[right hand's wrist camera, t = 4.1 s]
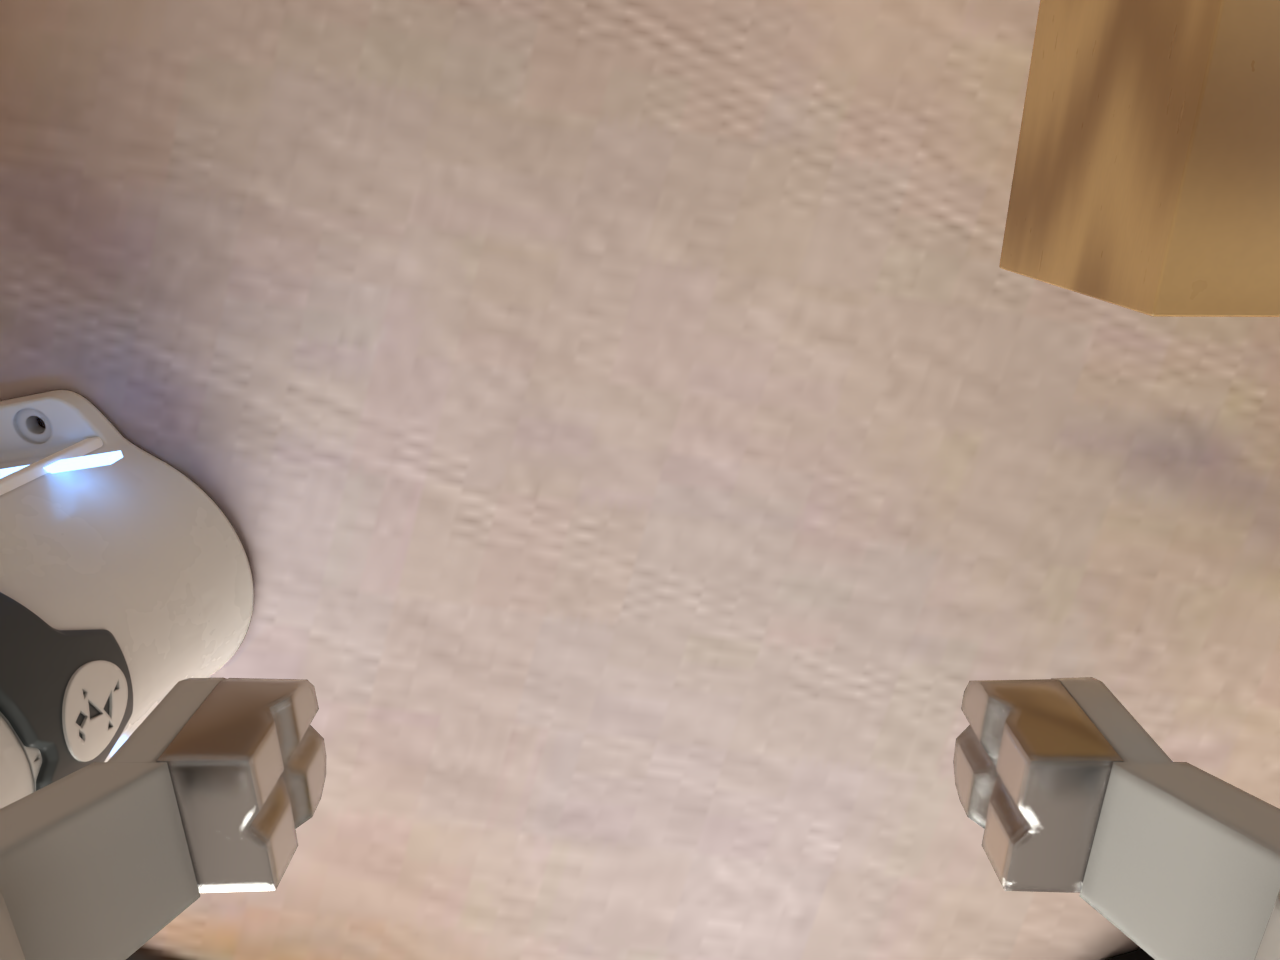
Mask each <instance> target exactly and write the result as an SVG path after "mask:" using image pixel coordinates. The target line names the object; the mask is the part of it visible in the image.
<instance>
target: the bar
mask: <svg viewBox="0 0 1280 960" xmlns="http://www.w3.org/2000/svg"><path fill="white" fill-rule="evenodd" d="M1000 268H1002V269H1005V270H1008V271H1011V272H1014V273H1018V274H1021V275H1024V276H1027V277H1030V278H1033V279H1036V280H1040V281H1043V282H1046V283H1049V284H1052V285H1055V286H1059V287H1062V288H1065V289H1068V290H1071V291H1074V292H1078V293H1081V294H1084V295H1087V296H1090V297H1093V298H1097V299H1100V300H1103V301H1106V302H1109V303H1112V304H1116V305H1119V306H1122V307H1125V308H1128V309H1131V310H1134V311H1138V312H1141V313H1144V314H1147V315H1150V316H1172V317H1280V0H1040V6H1039V13H1038V19H1037V26H1036V32H1035V39H1034V45H1033V52H1032V58H1031V65H1030V71H1029V78H1028V84H1027V91H1026V97H1025V104H1024V110H1023V117H1022V123H1021V130H1020V136H1019V143H1018V149H1017V156H1016V162H1015V169H1014V175H1013V182H1012V188H1011V195H1010V201H1009V208H1008V214H1007V221H1006V227H1005V234H1004V240H1003V247H1002V253H1001V259H1000Z"/></svg>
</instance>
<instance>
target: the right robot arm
mask: <svg viewBox="0 0 1280 960" xmlns="http://www.w3.org/2000/svg"><path fill="white" fill-rule="evenodd" d="M36 416H37V417H39V418H40V419H42V420H43V422H44V424H45V429H44V428H42V427H41V426H40V425H39V424H38V423H37V420H36ZM253 604H254V589H253V579H252V573H251V569H250V565H249V562H248V558H247V555H246V553H245V550H244V548H243V545H242V543H241V541H240V539H239V537H238V535H237V533H236V532H235V530H234V528H233V527H232V525H231V523H230V522H229V520H228V519H227V517H226V516H225V515H224V513H223V512H222V511H221V509H220V508H219V507H218V506H217V505H216V504H215V502H214V501H213V500H212V499H211V498H210V497H209V496H208V495H207V494H206V493H205V492H204V491H203V490H202V489H201V488H200V487H198V486H197V485H196V484H195V483H194V482H193V481H191V480H190V479H189V478H188V477H186V476H185V475H184V474H182V473H181V472H179V471H178V470H177V469H175V468H173V467H172V466H170V465H169V464H167V463H165V462H164V461H162V460H160V459H158V458H156V457H155V456H153V455H151V454H149V453H147V452H145V451H144V450H142V449H140V448H139V447H137V446H135V445H134V444H132V443H131V442H129V441H128V440H127V439H125V438H124V437H123V436H122V435H121V434H120V433H119V431H118V430H117V429H116V428H115V427H114V426H113V425H112V424H111V423H110V422H109V420H108V419H107V418H106V417H105V416H104V415H103V414H102V413H101V412H100V411H99V410H98V409H97V408H96V407H95V406H94V405H93V404H92V403H91V402H89V401H88V400H87V399H86V398H84V397H83V396H81V395H79V394H78V393H75V392H73V391H69V390H54V391H49V392H44V393H39V394H34V395H29V396H24V397H19V398H14V399H8V400H3V401H0V960H126V959H127V958H128V957H129V956H130V955H131V954H133V953H134V952H135V951H136V950H137V949H139V948H140V947H141V946H142V945H143V944H145V943H146V942H147V941H148V940H149V939H151V938H152V937H153V936H154V935H155V934H156V933H158V932H159V931H160V930H161V929H162V928H164V927H165V926H166V925H167V924H168V923H170V922H171V921H172V920H173V919H174V918H176V917H177V916H178V915H179V914H180V913H181V912H183V911H184V910H185V909H186V908H187V907H189V906H190V905H191V904H192V903H193V902H195V901H196V900H197V899H198V898H199V897H200V893H208V892H242V891H276V889H277V887H278V885H279V883H280V881H281V879H282V877H283V875H284V873H285V871H286V869H287V867H288V865H289V863H290V861H291V859H292V857H293V855H294V853H295V851H296V849H297V847H298V841H297V836H296V830H295V829H296V828H297V827H299V826H300V825H302V824H303V823H304V822H306V821H307V820H309V819H310V818H311V817H312V816H313V814H314V812H315V810H316V808H317V806H318V804H319V801H320V799H321V796H322V791H323V787H324V782H325V777H326V750H325V743H324V738H323V737H322V736H321V735H320V734H319V733H318V732H317V731H316V730H315V729H314V728H313V727H312V726H311V725H310V723H311V722H312V720H313V718H314V716H315V715H316V713H317V711H318V709H319V707H318V702H317V697H316V693H315V688H314V686H313V685H312V684H311V683H310V682H309V681H308V680H303V679H256V678H228V679H226V678H209V677H210V676H212V675H213V674H214V673H216V672H217V671H218V670H220V669H221V668H222V667H223V666H224V665H225V664H226V663H227V662H228V661H229V660H230V659H231V658H232V657H233V655H234V654H235V653H236V651H237V650H238V648H239V647H240V645H241V644H242V642H243V640H244V638H245V636H246V633H247V631H248V628H249V625H250V622H251V617H252V612H253ZM961 709H962V711H963V713H964V715H965V716H966V718H967V720H968V722H969V723H970V725H969V726H968V727H967V728H966V729H965V730H964V731H963V732H962V733H961V734H960V735H959V736H958V737H957V738H956V744H955V752H954V760H953V763H954V775H955V785H956V788H957V792H958V795H959V799H960V802H961V804H962V806H963V808H964V810H965V812H966V814H967V816H968V817H969V818H970V819H971V820H973V821H974V822H976V823H977V824H978V825H980V826H981V827H983V828H984V829H985V830H984V836H983V841H982V847H983V849H984V851H985V853H986V855H987V857H988V859H989V861H990V863H991V865H992V867H993V869H994V871H995V873H996V875H997V877H998V879H999V881H1000V882H1001V884H1002V886H1003V888H1004V890H1005V891H1036V892H1072V893H1080V897H1081V898H1082V899H1083V900H1085V901H1086V902H1087V903H1088V904H1089V905H1091V906H1092V907H1093V908H1094V909H1095V910H1097V911H1098V912H1099V913H1100V914H1101V915H1102V916H1104V917H1105V918H1106V919H1107V920H1108V921H1110V922H1111V923H1112V924H1113V925H1114V926H1116V927H1117V928H1118V929H1119V930H1120V931H1121V932H1123V933H1124V934H1125V935H1126V936H1127V937H1129V938H1130V939H1131V940H1132V941H1133V942H1135V943H1136V944H1137V945H1138V946H1139V947H1140V948H1142V949H1143V950H1144V951H1145V952H1146V953H1148V954H1149V955H1150V956H1151V957H1152V958H1154V959H1155V960H1280V809H1278V808H1276V807H1274V806H1272V805H1270V804H1268V803H1266V802H1264V801H1262V800H1260V799H1258V798H1257V797H1255V796H1253V795H1251V794H1249V793H1247V792H1245V791H1243V790H1241V789H1239V788H1237V787H1235V786H1233V785H1231V784H1229V783H1227V782H1225V781H1223V780H1221V779H1219V778H1217V777H1215V776H1213V775H1211V774H1209V773H1207V772H1205V771H1203V770H1201V769H1199V768H1197V767H1195V766H1193V765H1191V764H1189V763H1187V762H1172V760H1171V759H1170V758H1169V757H1168V756H1167V755H1166V754H1165V753H1164V751H1163V750H1162V749H1161V748H1160V747H1159V746H1158V745H1157V743H1156V742H1155V741H1154V740H1153V739H1152V738H1151V737H1150V736H1149V734H1148V733H1147V732H1146V731H1145V730H1144V729H1143V728H1142V727H1141V725H1140V724H1139V723H1138V722H1137V721H1136V720H1135V719H1134V718H1133V716H1132V715H1131V714H1130V713H1129V712H1128V711H1127V710H1126V708H1125V707H1124V706H1123V705H1122V704H1121V703H1120V702H1119V701H1118V699H1117V698H1116V697H1115V696H1114V695H1113V694H1112V693H1111V692H1110V690H1109V689H1108V688H1107V687H1106V686H1105V685H1104V684H1103V683H1102V682H1101V681H1099V680H1097V679H1095V678H1092V677H1083V678H1053V679H1044V680H981V681H969V683H968V685H967V687H966V689H965V691H964V696H963V701H962V707H961Z"/></svg>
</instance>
